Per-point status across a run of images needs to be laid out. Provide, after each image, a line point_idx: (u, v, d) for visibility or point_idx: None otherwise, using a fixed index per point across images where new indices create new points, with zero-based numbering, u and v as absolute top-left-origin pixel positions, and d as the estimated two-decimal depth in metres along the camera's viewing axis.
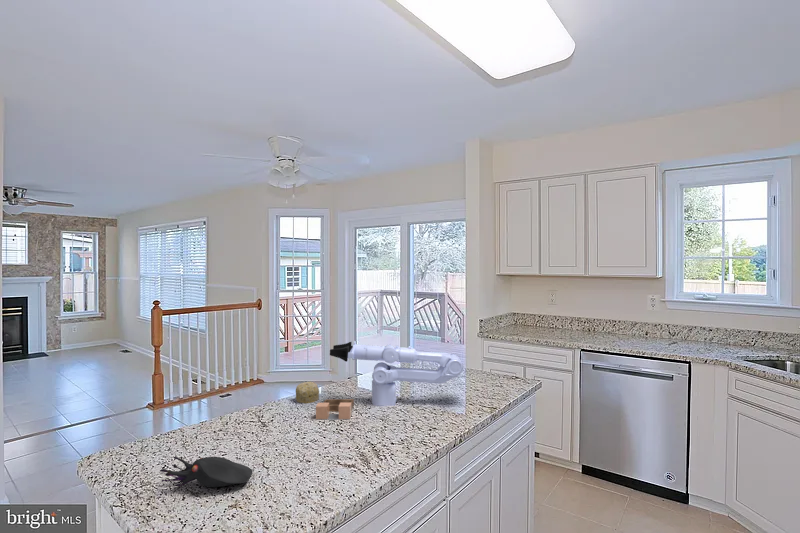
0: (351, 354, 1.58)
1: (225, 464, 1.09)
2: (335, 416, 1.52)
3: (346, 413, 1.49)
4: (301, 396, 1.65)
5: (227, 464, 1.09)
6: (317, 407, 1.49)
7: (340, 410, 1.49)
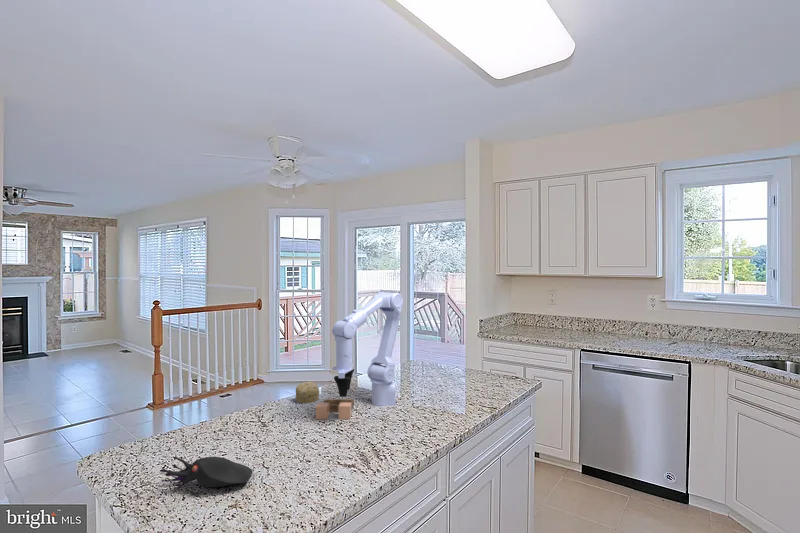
0: (339, 374, 1.44)
1: (225, 464, 1.09)
2: (335, 416, 1.52)
3: (346, 413, 1.49)
4: (301, 396, 1.65)
5: (227, 464, 1.09)
6: (317, 407, 1.49)
7: (340, 410, 1.49)
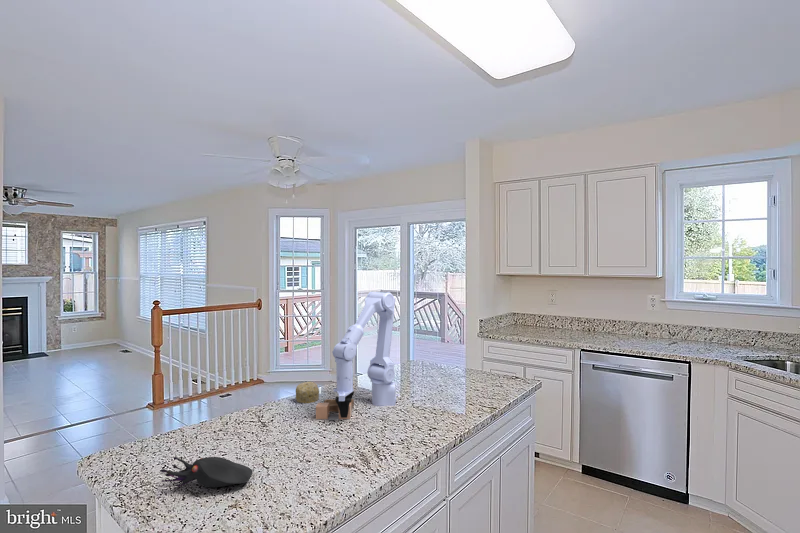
0: (340, 397, 1.44)
1: (225, 464, 1.09)
2: (335, 416, 1.52)
3: None
4: (301, 396, 1.65)
5: (227, 464, 1.09)
6: (317, 407, 1.49)
7: None
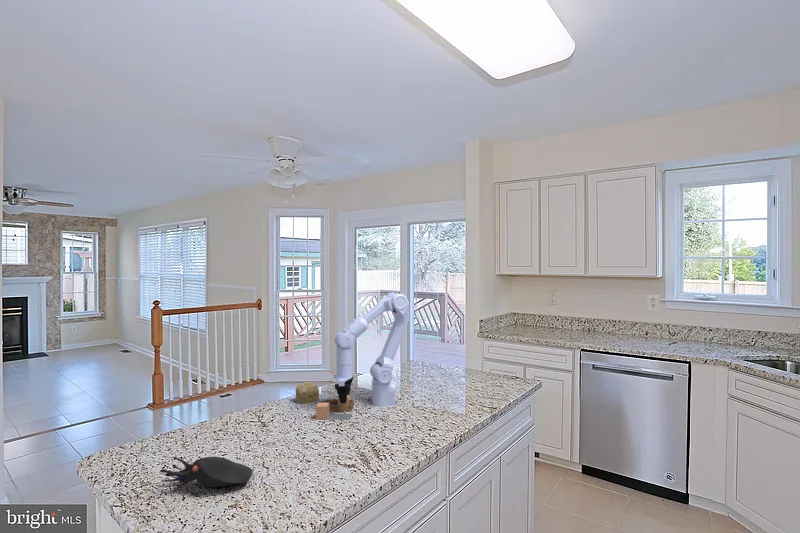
0: (339, 382, 1.53)
1: (225, 464, 1.09)
2: (335, 416, 1.52)
3: None
4: (301, 396, 1.65)
5: (227, 464, 1.09)
6: (317, 407, 1.49)
7: (339, 402, 1.58)
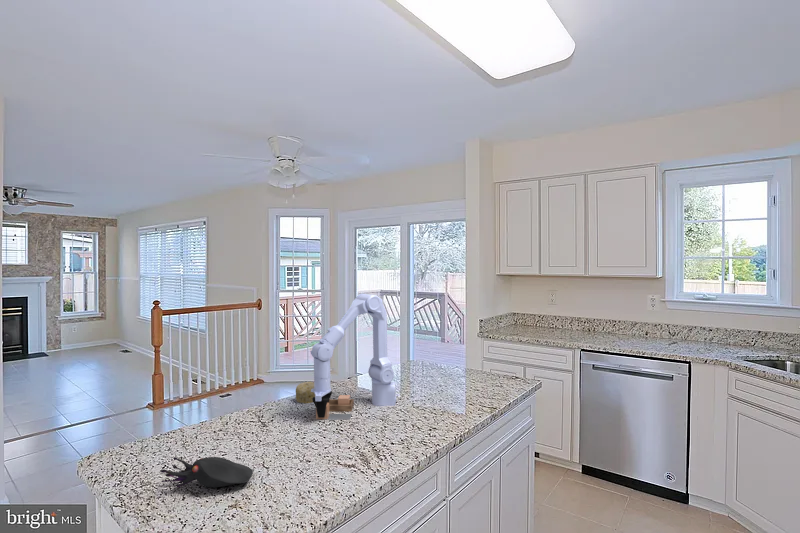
0: (316, 397, 1.44)
1: (225, 464, 1.09)
2: (335, 416, 1.52)
3: None
4: (301, 396, 1.65)
5: (227, 464, 1.09)
6: None
7: (339, 402, 1.58)
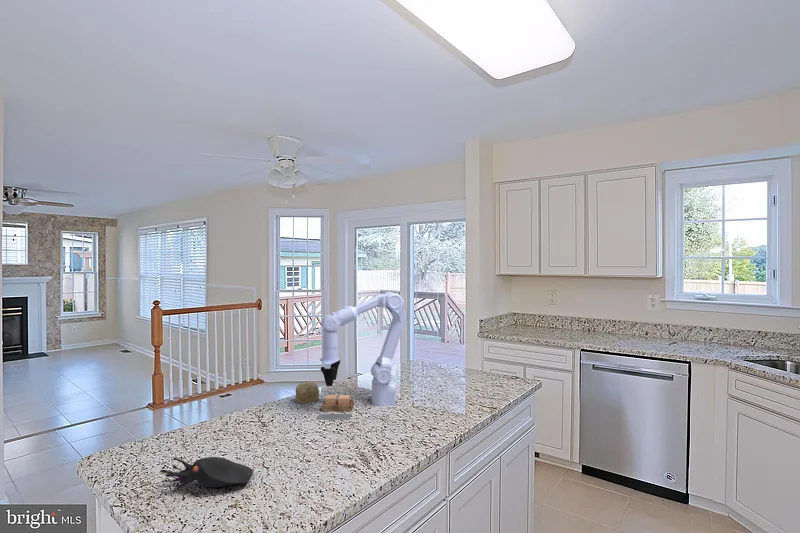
0: (325, 365, 1.53)
1: (225, 464, 1.09)
2: (335, 416, 1.52)
3: None
4: (301, 396, 1.65)
5: (228, 464, 1.09)
6: (326, 399, 1.58)
7: (339, 402, 1.58)
